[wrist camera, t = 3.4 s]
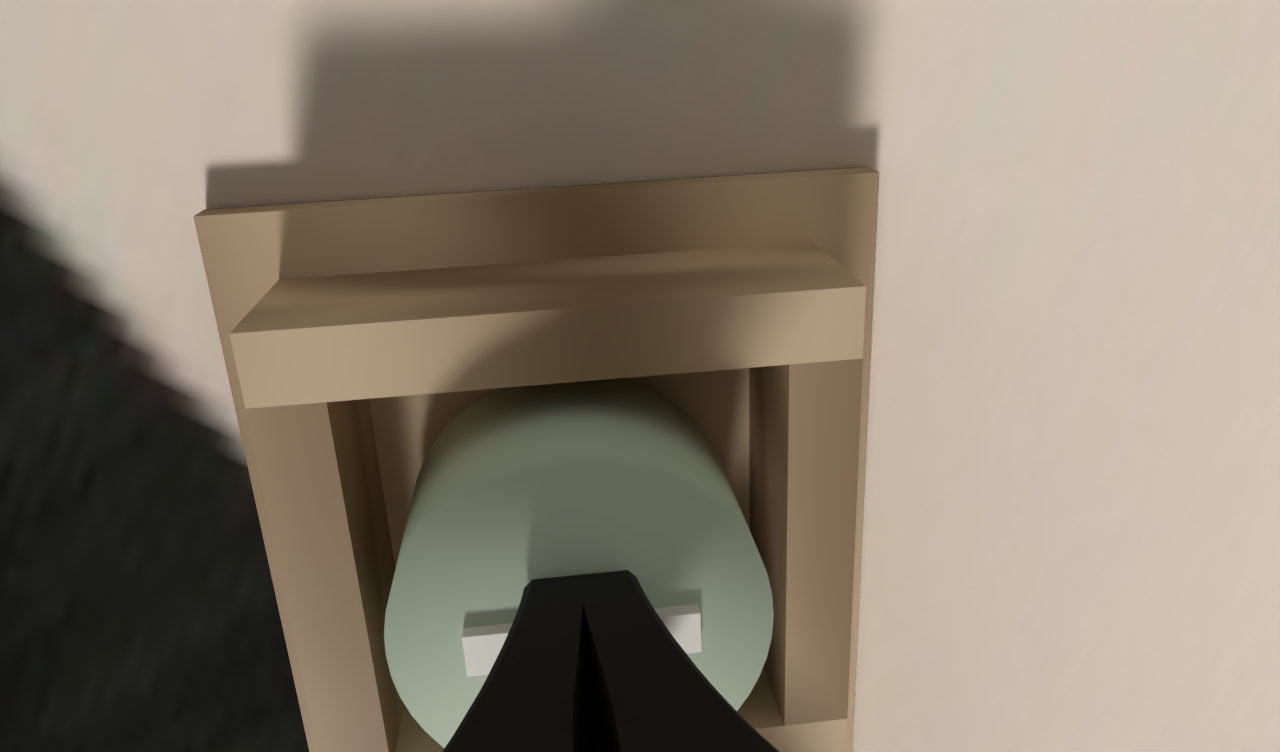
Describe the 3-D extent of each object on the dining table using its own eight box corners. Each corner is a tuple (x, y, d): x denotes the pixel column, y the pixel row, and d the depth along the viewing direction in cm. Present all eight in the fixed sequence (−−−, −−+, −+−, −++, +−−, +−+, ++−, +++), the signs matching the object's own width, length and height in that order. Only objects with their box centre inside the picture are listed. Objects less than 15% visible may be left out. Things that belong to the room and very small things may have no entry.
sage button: (432, 666, 16) (410, 818, 13) (389, 385, 14) (352, 488, 11) (730, 634, 16) (776, 775, 13) (727, 358, 14) (778, 449, 11)
